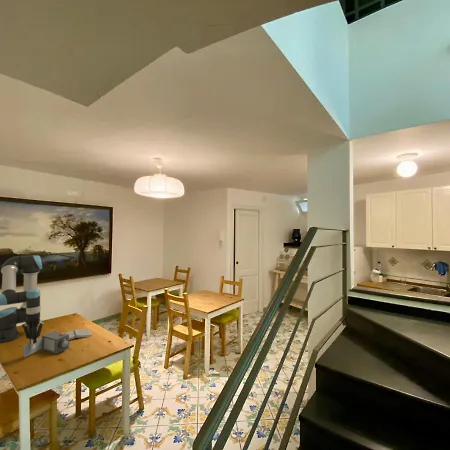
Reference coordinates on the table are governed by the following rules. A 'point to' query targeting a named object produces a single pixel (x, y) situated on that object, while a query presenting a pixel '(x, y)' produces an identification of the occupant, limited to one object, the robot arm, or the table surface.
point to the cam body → (55, 342)
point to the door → (37, 347)
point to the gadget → (79, 333)
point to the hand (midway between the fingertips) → (33, 348)
